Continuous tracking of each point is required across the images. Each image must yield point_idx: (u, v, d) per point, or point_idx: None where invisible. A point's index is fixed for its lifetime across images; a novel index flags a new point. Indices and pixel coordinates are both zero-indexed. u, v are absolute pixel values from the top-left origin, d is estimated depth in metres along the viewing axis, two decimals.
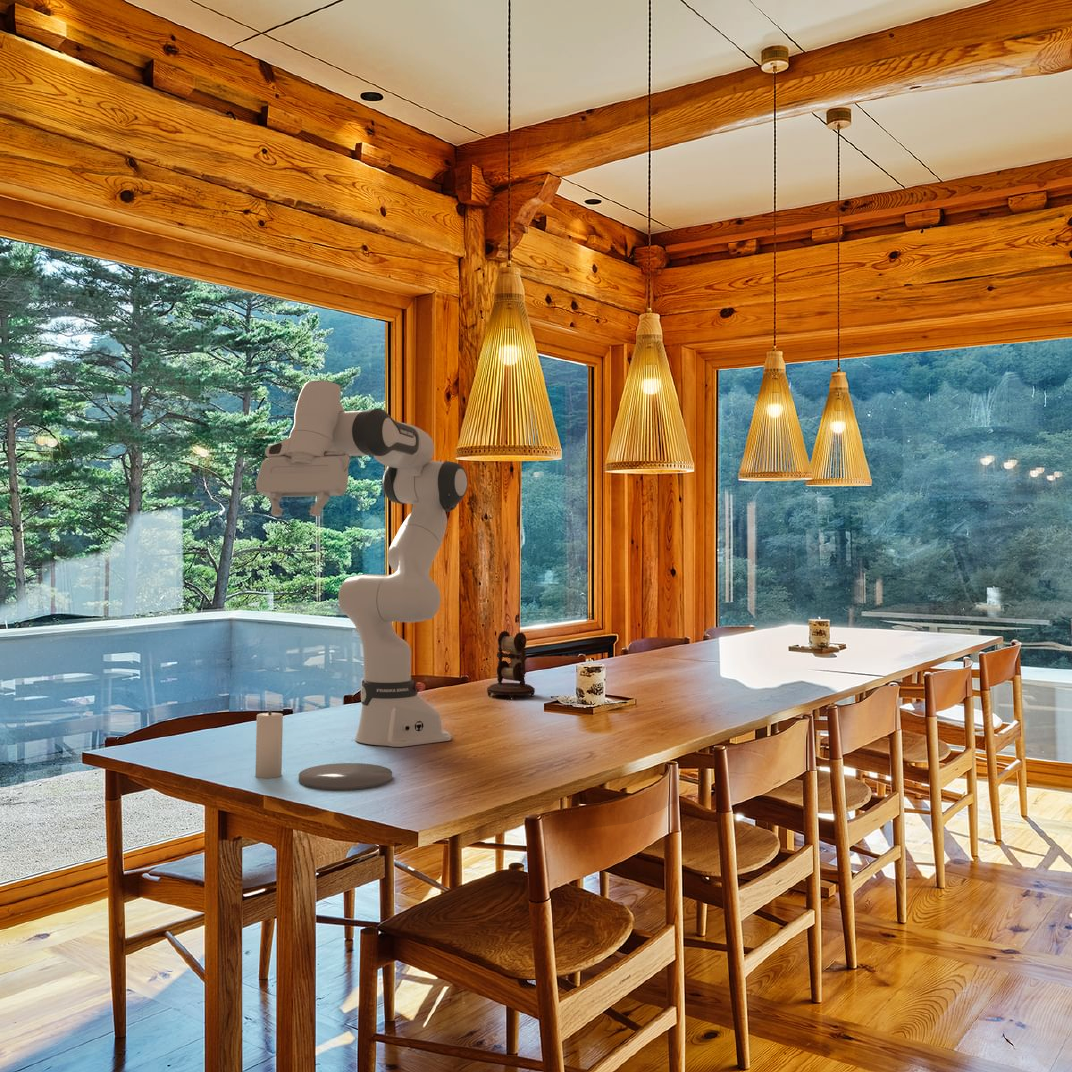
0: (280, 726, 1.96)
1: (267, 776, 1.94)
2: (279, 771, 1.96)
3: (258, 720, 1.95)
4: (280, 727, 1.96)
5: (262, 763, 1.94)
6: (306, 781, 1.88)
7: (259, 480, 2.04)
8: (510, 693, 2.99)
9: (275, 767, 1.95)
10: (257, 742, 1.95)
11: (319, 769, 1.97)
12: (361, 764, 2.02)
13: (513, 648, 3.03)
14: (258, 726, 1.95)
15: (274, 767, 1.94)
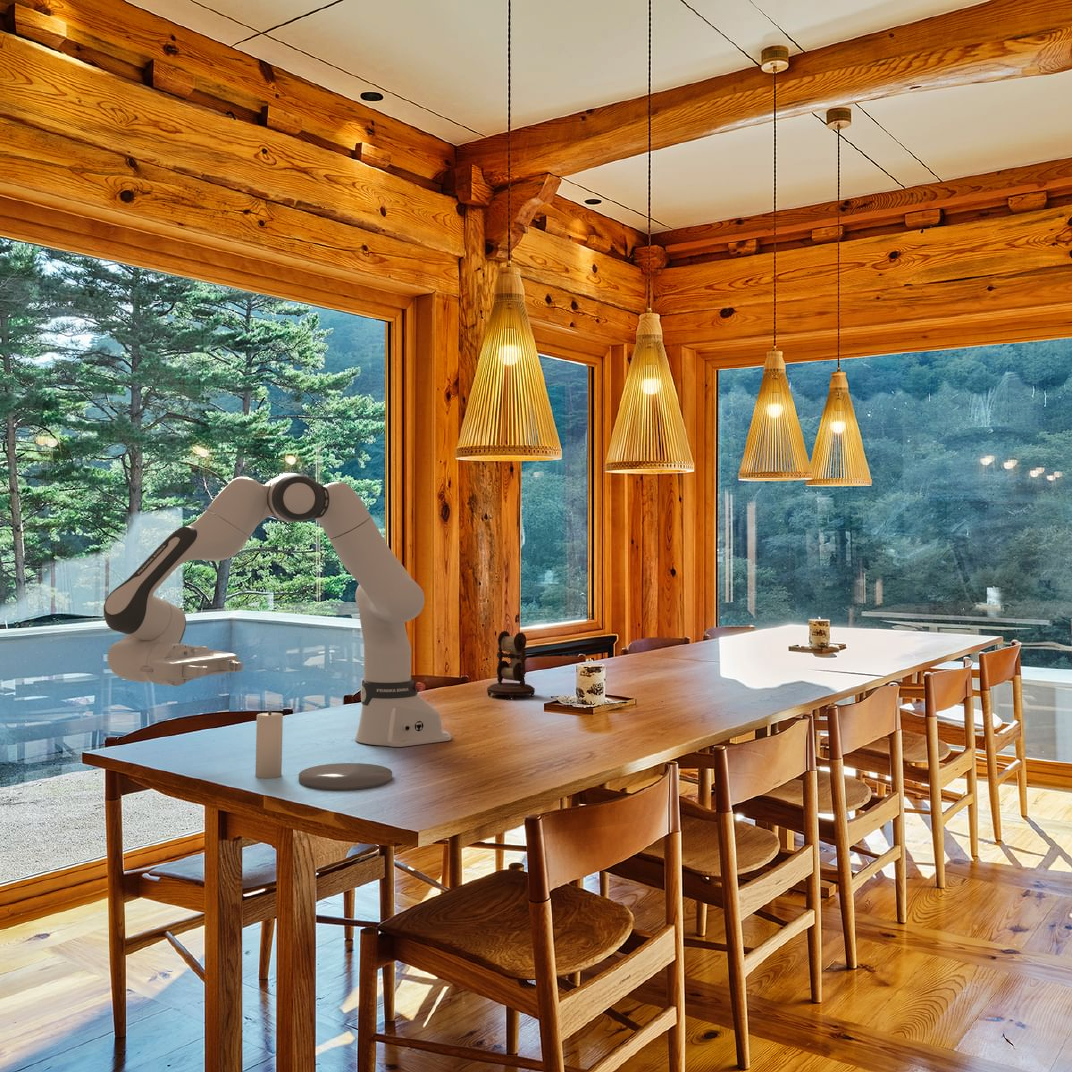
0: (280, 726, 1.96)
1: (267, 776, 1.94)
2: (279, 771, 1.96)
3: (258, 720, 1.95)
4: (280, 727, 1.96)
5: (262, 763, 1.94)
6: (306, 781, 1.88)
7: None
8: (510, 693, 2.99)
9: (275, 766, 1.95)
10: (257, 742, 1.95)
11: (319, 769, 1.97)
12: (361, 764, 2.02)
13: (513, 648, 3.03)
14: (258, 726, 1.95)
15: (274, 767, 1.94)
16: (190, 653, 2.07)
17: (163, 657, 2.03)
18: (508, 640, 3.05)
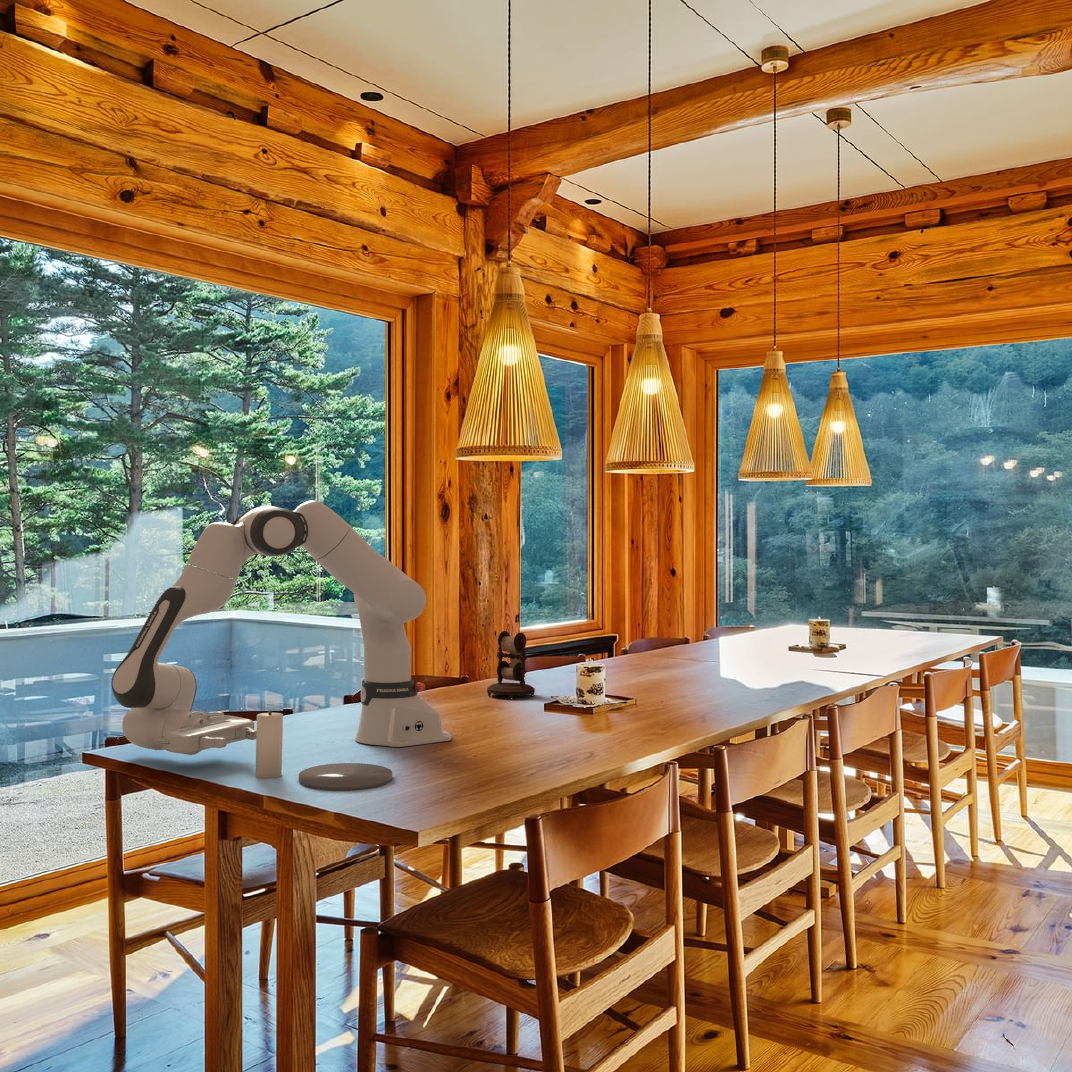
0: (280, 726, 1.96)
1: (267, 776, 1.94)
2: (279, 771, 1.96)
3: (258, 720, 1.95)
4: (280, 727, 1.96)
5: (262, 763, 1.94)
6: (306, 781, 1.88)
7: None
8: (510, 693, 2.99)
9: (275, 766, 1.95)
10: (257, 742, 1.95)
11: (319, 769, 1.97)
12: (361, 764, 2.02)
13: (513, 648, 3.03)
14: (258, 726, 1.95)
15: (274, 767, 1.94)
16: (206, 721, 2.06)
17: (179, 727, 2.02)
18: (508, 640, 3.05)
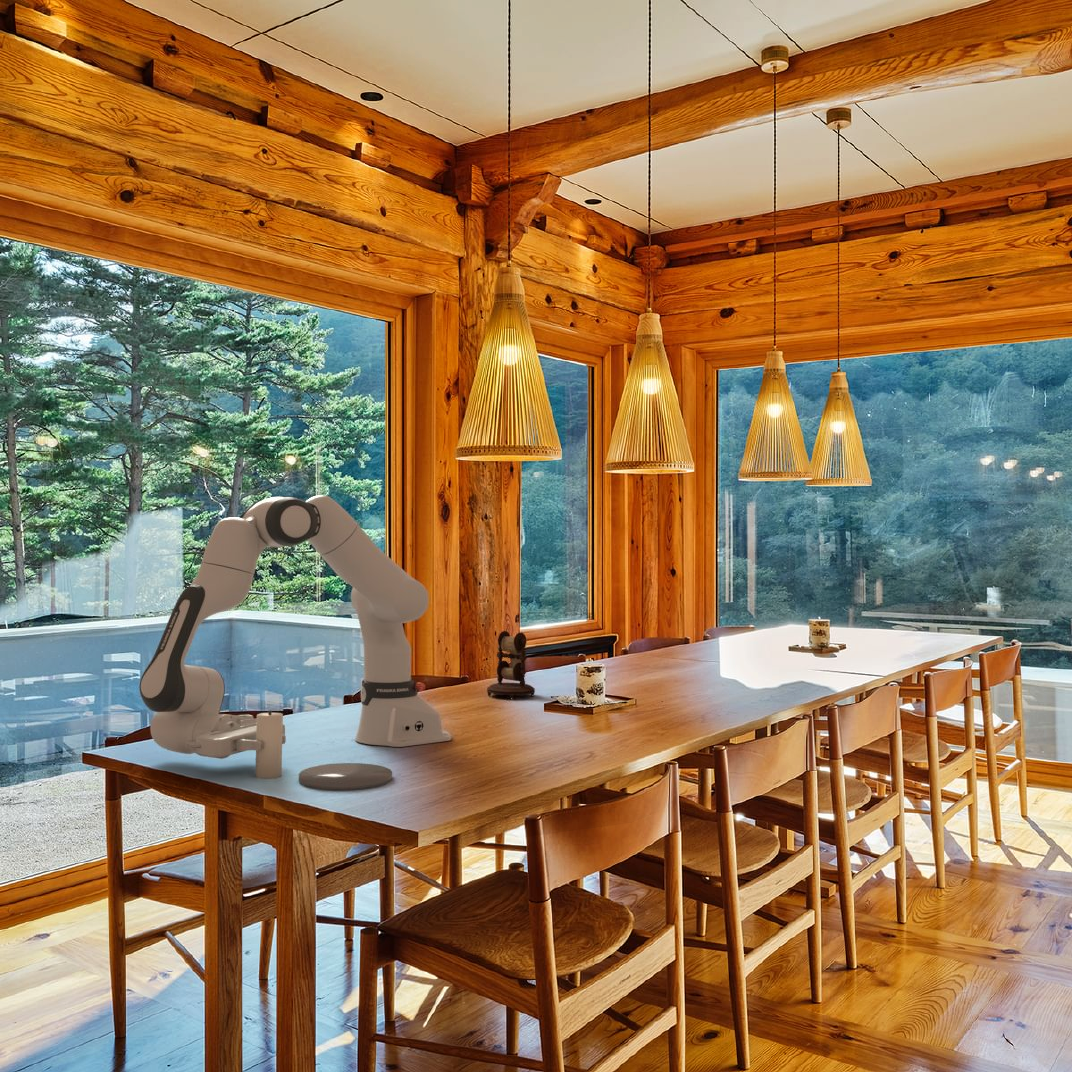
0: (280, 726, 1.96)
1: (267, 776, 1.94)
2: (279, 771, 1.96)
3: (258, 720, 1.95)
4: (280, 727, 1.96)
5: (261, 763, 1.94)
6: (306, 781, 1.88)
7: None
8: (510, 693, 2.99)
9: (275, 766, 1.95)
10: None
11: (319, 769, 1.97)
12: (361, 764, 2.02)
13: (513, 648, 3.03)
14: (258, 726, 1.95)
15: (274, 767, 1.94)
16: (236, 724, 2.02)
17: (210, 730, 1.98)
18: (508, 640, 3.05)
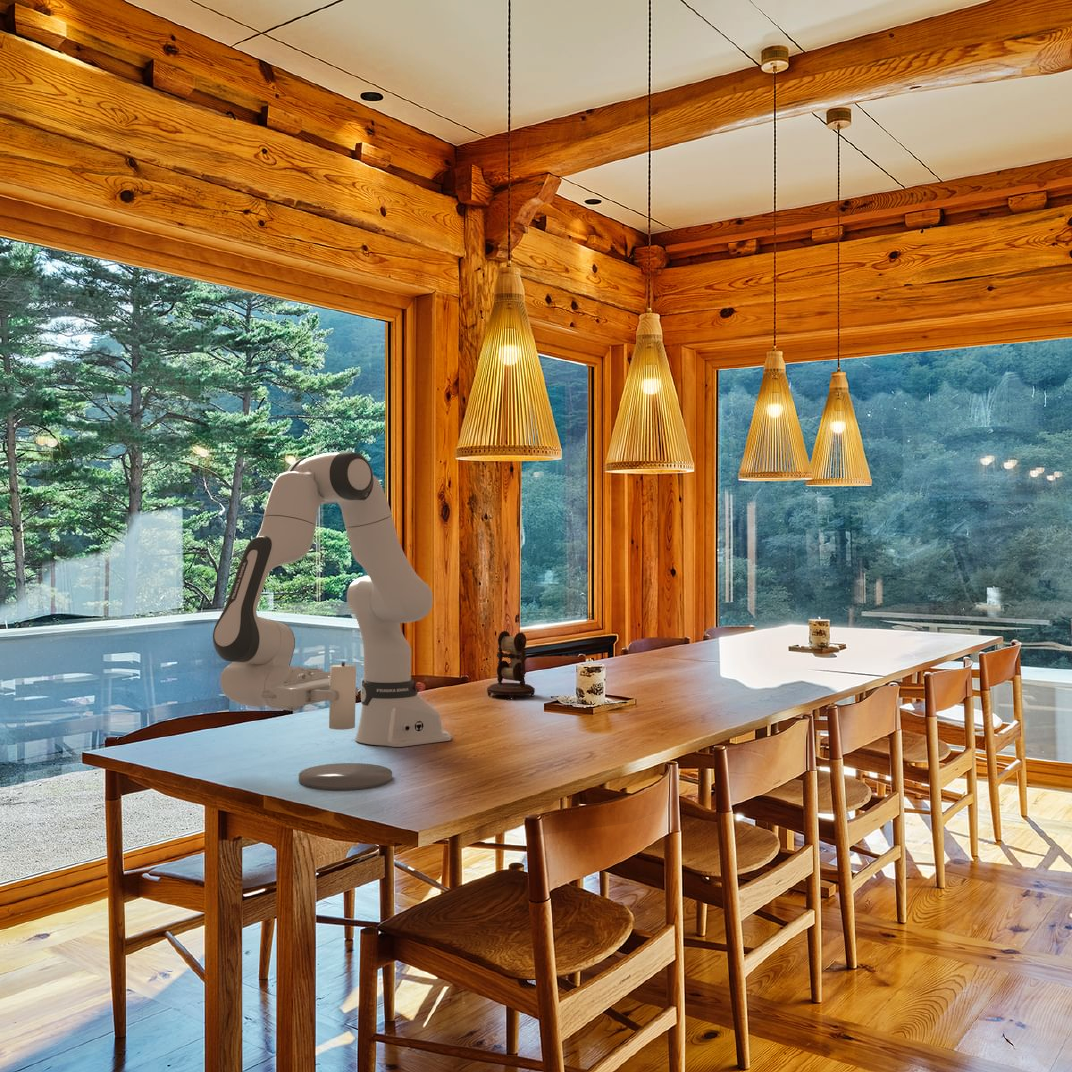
0: (354, 677, 1.94)
1: (341, 727, 1.92)
2: (353, 722, 1.94)
3: (332, 671, 1.93)
4: (354, 678, 1.94)
5: (336, 714, 1.92)
6: (306, 781, 1.88)
7: None
8: (510, 693, 2.99)
9: (349, 718, 1.93)
10: None
11: (319, 769, 1.97)
12: (361, 764, 2.02)
13: (513, 648, 3.03)
14: (332, 677, 1.93)
15: (348, 718, 1.93)
16: (308, 676, 2.00)
17: (282, 681, 1.96)
18: (508, 640, 3.05)
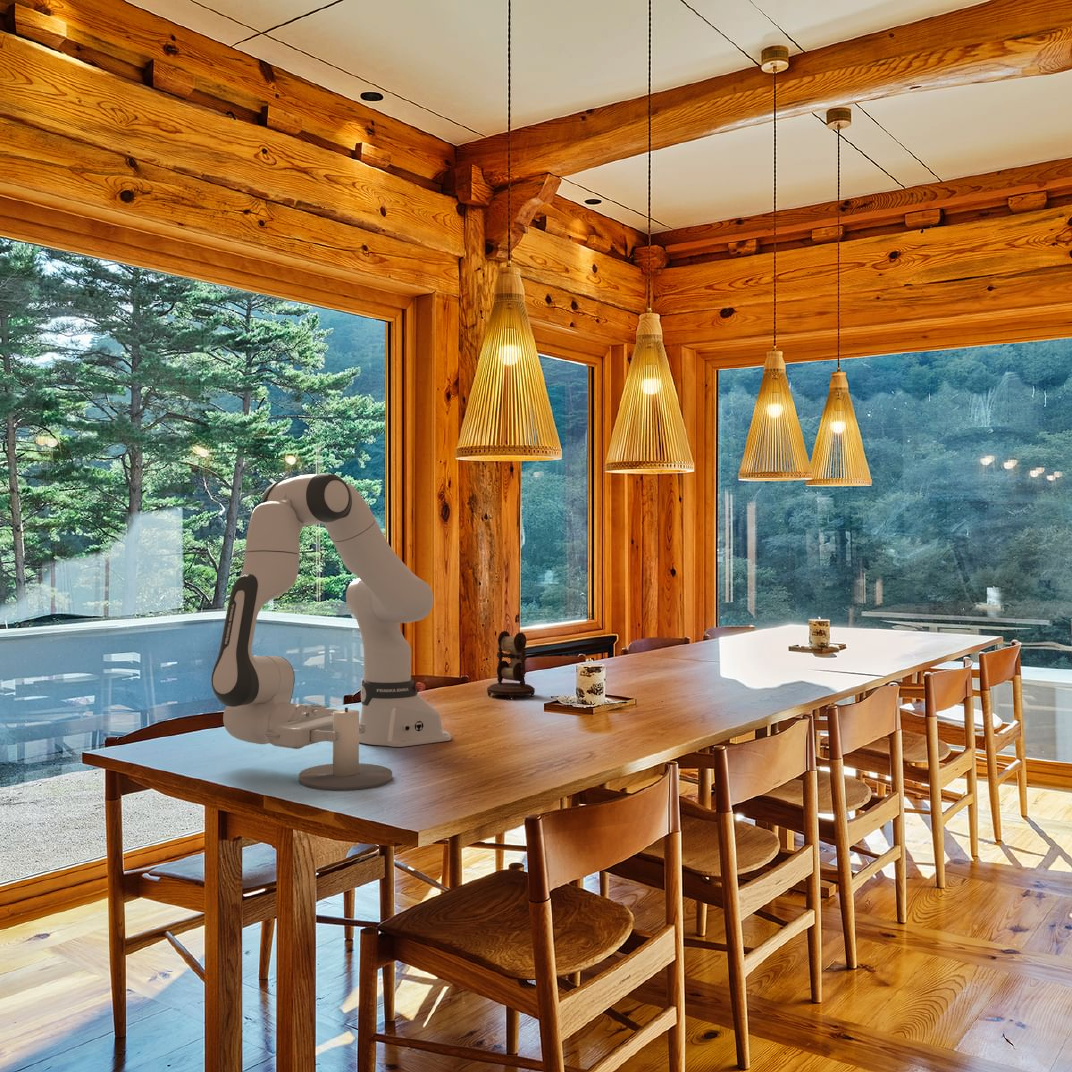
0: (357, 723, 1.94)
1: (345, 774, 1.92)
2: (357, 768, 1.94)
3: (335, 717, 1.93)
4: (357, 724, 1.94)
5: (340, 761, 1.92)
6: (306, 781, 1.88)
7: None
8: (510, 693, 2.99)
9: (353, 764, 1.93)
10: None
11: (319, 769, 1.97)
12: (361, 764, 2.02)
13: (513, 648, 3.03)
14: (335, 723, 1.93)
15: (352, 764, 1.92)
16: (311, 714, 2.00)
17: (286, 720, 1.96)
18: (508, 640, 3.05)
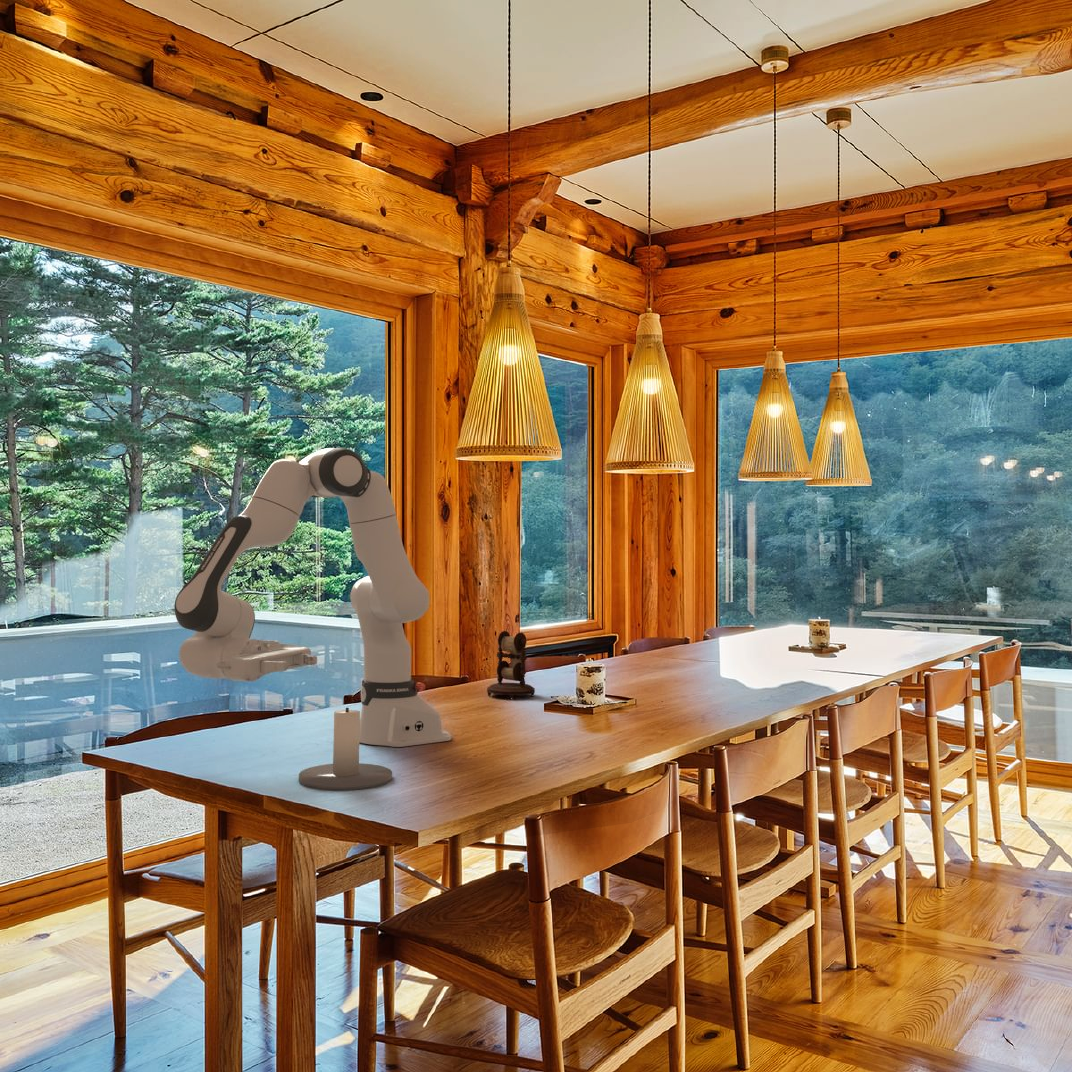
0: (358, 723, 1.94)
1: (345, 774, 1.92)
2: (357, 768, 1.94)
3: (336, 717, 1.93)
4: (358, 724, 1.94)
5: (340, 761, 1.92)
6: (306, 781, 1.88)
7: None
8: (510, 693, 2.99)
9: (353, 764, 1.93)
10: (335, 739, 1.93)
11: (319, 769, 1.97)
12: (361, 764, 2.02)
13: (513, 648, 3.03)
14: (336, 723, 1.93)
15: (352, 764, 1.93)
16: (264, 648, 2.06)
17: (238, 653, 2.02)
18: (508, 640, 3.05)
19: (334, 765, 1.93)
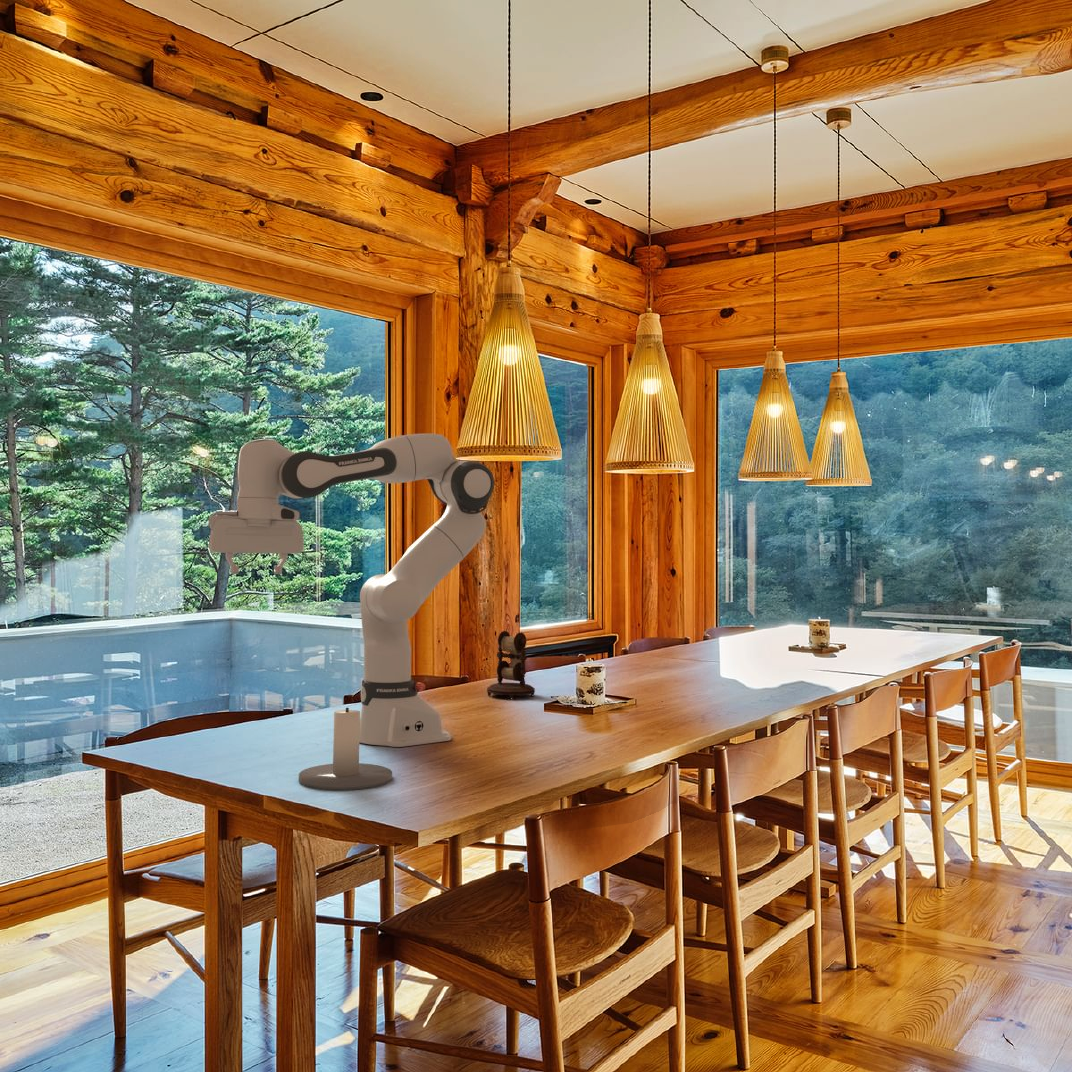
0: (358, 723, 1.94)
1: (345, 774, 1.92)
2: (357, 768, 1.94)
3: (336, 717, 1.93)
4: (358, 724, 1.94)
5: (340, 761, 1.92)
6: (306, 781, 1.88)
7: None
8: (510, 693, 2.99)
9: (353, 764, 1.93)
10: (335, 739, 1.93)
11: (319, 769, 1.97)
12: (361, 764, 2.02)
13: (513, 648, 3.03)
14: (336, 723, 1.93)
15: (352, 764, 1.93)
16: (266, 526, 2.18)
17: (241, 516, 2.16)
18: (508, 640, 3.05)
19: (334, 765, 1.93)
